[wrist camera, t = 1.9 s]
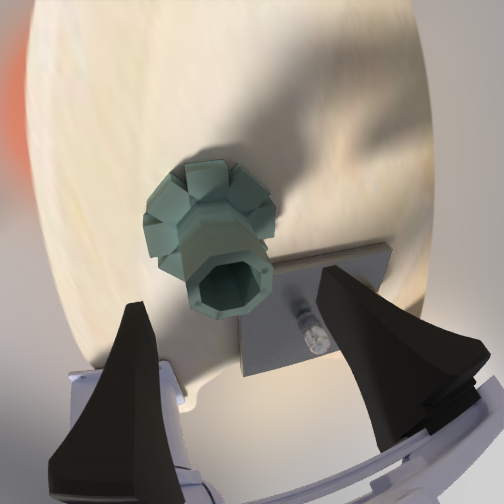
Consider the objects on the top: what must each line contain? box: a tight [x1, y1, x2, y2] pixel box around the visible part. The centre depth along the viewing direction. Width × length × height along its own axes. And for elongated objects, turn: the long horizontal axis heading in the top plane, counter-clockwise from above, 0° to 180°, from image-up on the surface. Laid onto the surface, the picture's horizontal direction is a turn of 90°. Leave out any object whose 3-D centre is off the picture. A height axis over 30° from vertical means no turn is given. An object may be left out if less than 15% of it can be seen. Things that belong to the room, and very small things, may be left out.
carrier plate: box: [238, 242, 393, 377], centre depth 23 cm, size 12×12×5 cm
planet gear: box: [143, 159, 276, 320], centre depth 15 cm, size 7×7×6 cm
